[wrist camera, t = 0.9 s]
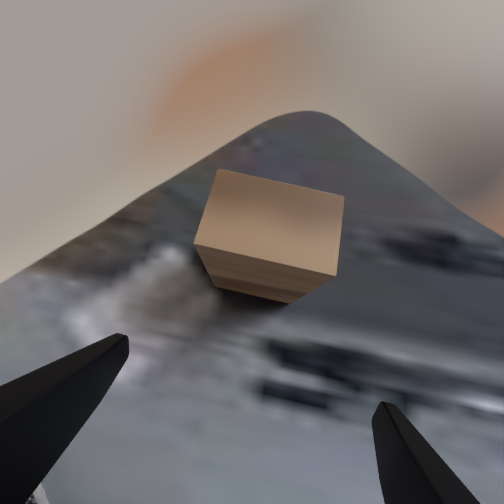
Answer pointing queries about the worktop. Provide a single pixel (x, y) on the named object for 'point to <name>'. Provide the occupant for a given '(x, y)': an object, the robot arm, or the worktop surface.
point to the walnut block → (269, 236)
